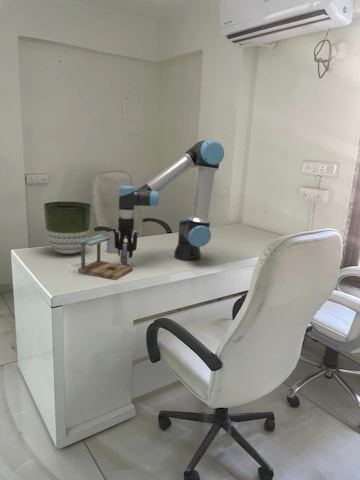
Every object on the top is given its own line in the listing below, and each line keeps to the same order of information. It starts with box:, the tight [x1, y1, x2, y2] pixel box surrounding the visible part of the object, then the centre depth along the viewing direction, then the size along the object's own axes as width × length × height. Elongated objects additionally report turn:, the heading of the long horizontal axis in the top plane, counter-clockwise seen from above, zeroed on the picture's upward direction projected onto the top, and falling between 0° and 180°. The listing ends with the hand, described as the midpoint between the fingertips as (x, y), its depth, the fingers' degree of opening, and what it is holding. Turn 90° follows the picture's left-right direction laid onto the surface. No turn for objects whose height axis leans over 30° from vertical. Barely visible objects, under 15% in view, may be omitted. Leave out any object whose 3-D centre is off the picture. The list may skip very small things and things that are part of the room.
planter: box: [43, 201, 92, 255], centre depth 201 cm, size 24×24×27 cm
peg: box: [121, 241, 130, 266], centre depth 186 cm, size 4×4×12 cm
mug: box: [106, 230, 120, 254], centre depth 210 cm, size 12×8×11 cm
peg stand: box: [78, 234, 134, 281], centre depth 175 cm, size 20×16×15 cm
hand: (125, 262), depth 187 cm, fingers closed on peg, 3 cm apart
